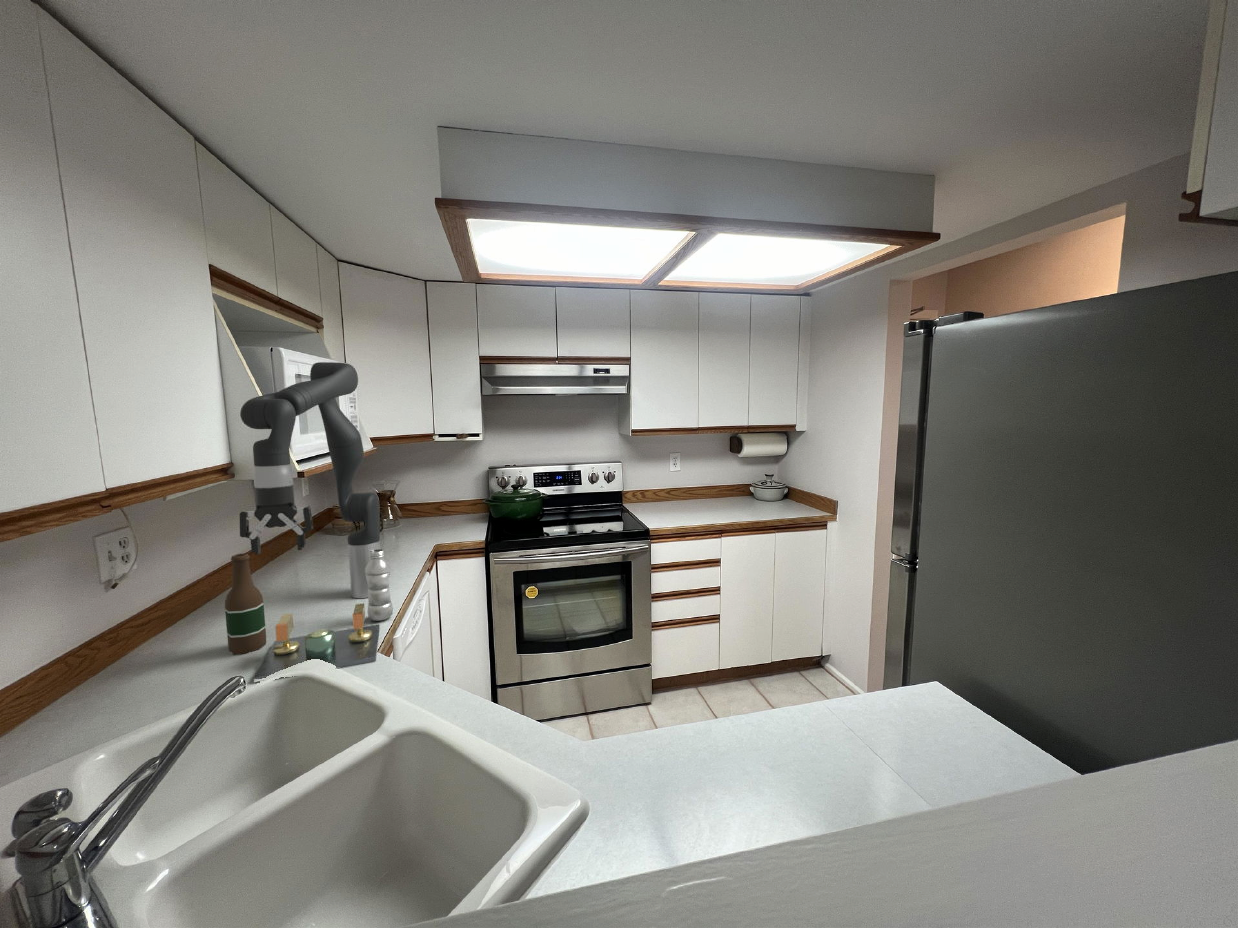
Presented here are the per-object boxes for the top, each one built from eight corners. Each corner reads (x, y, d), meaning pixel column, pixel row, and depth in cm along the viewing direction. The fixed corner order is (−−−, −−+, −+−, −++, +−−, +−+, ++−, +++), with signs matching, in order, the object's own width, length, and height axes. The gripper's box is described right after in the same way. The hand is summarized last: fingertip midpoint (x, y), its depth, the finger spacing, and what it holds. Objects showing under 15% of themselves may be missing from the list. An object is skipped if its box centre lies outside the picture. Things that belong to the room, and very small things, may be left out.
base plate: (275, 645, 128) (273, 619, 127) (379, 628, 137) (378, 604, 136) (253, 683, 109) (251, 653, 109) (375, 660, 119) (374, 633, 118)
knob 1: (277, 645, 124) (275, 615, 124) (302, 641, 126) (299, 611, 126) (270, 658, 117) (267, 627, 117) (296, 654, 119) (293, 623, 119)
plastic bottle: (383, 624, 140) (379, 554, 138) (362, 622, 141) (358, 553, 139) (398, 615, 146) (394, 548, 144) (377, 613, 147) (373, 547, 145)
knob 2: (350, 633, 131) (348, 605, 130) (372, 630, 133) (371, 602, 132) (347, 645, 124) (345, 615, 123) (370, 642, 126) (369, 612, 125)
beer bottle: (274, 642, 129) (267, 551, 127) (244, 656, 122) (236, 560, 119) (251, 639, 131) (243, 549, 129) (220, 653, 124) (211, 558, 121)
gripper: (311, 480, 124) (316, 544, 126) (242, 484, 119) (247, 551, 120) (306, 484, 117) (311, 552, 119) (232, 488, 112) (238, 559, 113)
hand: (279, 551), depth 120 cm, fingers open, 8 cm apart
